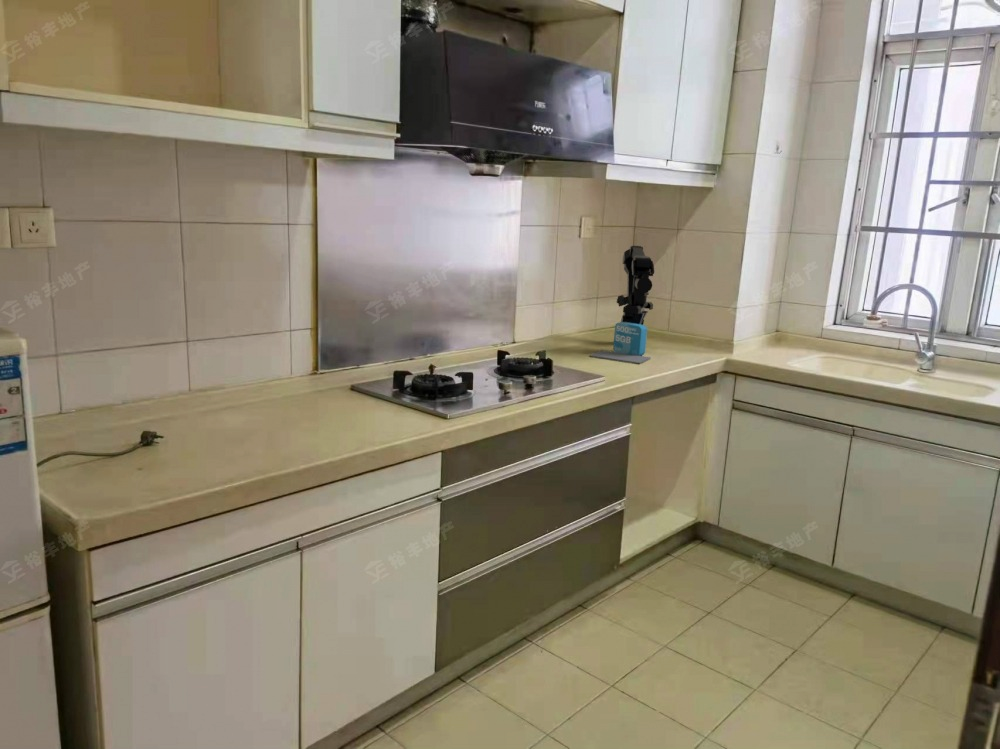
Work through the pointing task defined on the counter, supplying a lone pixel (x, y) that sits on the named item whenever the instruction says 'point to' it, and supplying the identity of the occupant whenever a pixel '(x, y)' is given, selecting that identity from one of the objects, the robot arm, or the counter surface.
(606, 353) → the mat
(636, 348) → the light blue flat block
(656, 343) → the counter surface
